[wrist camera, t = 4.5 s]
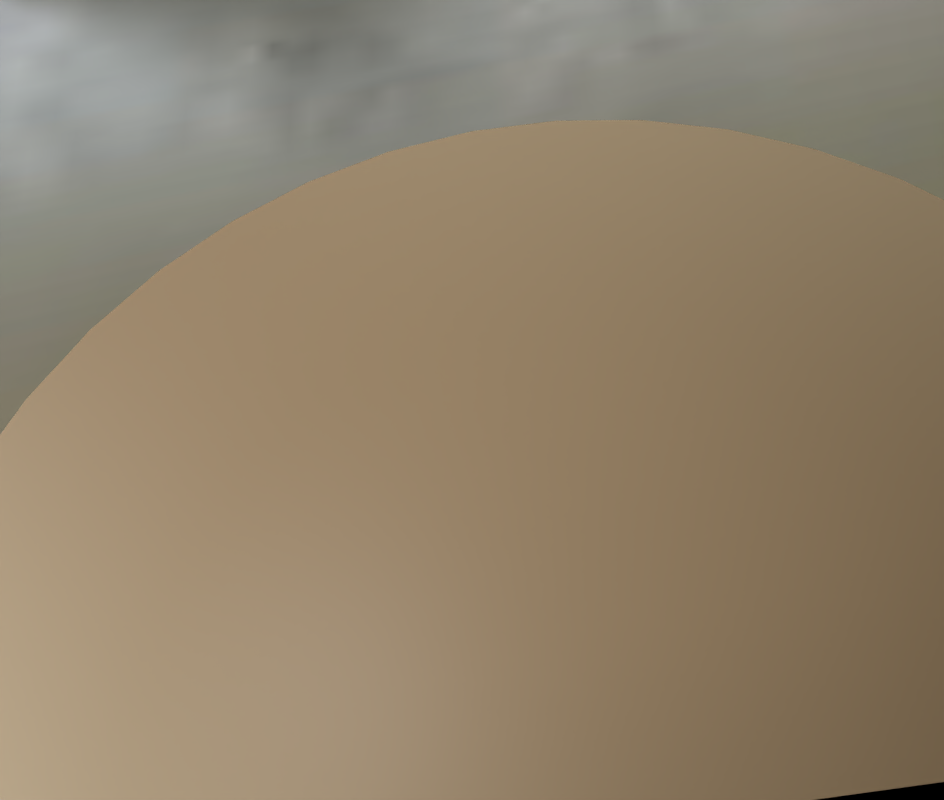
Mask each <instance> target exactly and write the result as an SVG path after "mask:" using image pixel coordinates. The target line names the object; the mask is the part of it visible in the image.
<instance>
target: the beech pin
mask: <svg viewBox="0 0 944 800" xmlns="http://www.w3.org/2000/svg"><path fill="white" fill-rule="evenodd" d="M0 800H944V200H942V199H940V198H938V197H936V196H934V195H932V194H930V193H928V192H926V191H924V190H922V189H920V188H917V187H915V186H913V185H911V184H909V183H907V182H905V181H903V180H901V179H898V178H895V177H893V176H890V175H887V174H884V173H881V172H878V171H875V170H873V169H870V168H867V167H864V166H861V165H858V164H855V163H853V162H850V161H847V160H844V159H841V158H838V157H835V156H833V155H830V154H827V153H824V152H821V151H818V150H815V149H811V148H807V147H803V146H798V145H794V144H789V143H785V142H781V141H776V140H772V139H767V138H763V137H759V136H754V135H750V134H745V133H741V132H737V131H732V130H727V129H718V128H709V127H700V126H691V125H682V124H672V123H663V122H654V121H645V120H596V121H550V122H542V123H534V124H526V125H518V126H510V127H502V128H494V129H486V130H478V131H471V132H467V133H463V134H459V135H455V136H451V137H447V138H443V139H438V140H434V141H430V142H426V143H422V144H418V145H414V146H410V147H406V148H402V149H398V150H394V151H390V152H387V153H384V154H382V155H379V156H376V157H374V158H371V159H368V160H366V161H363V162H360V163H358V164H355V165H352V166H350V167H347V168H344V169H342V170H339V171H336V172H334V173H331V174H328V175H326V176H323V177H320V178H318V179H315V180H312V181H310V182H308V183H306V184H304V185H302V186H300V187H298V188H296V189H294V190H292V191H290V192H288V193H286V194H284V195H282V196H280V197H278V198H277V199H275V200H273V201H271V202H269V203H267V204H265V205H263V206H261V207H259V208H257V209H255V210H253V211H251V212H249V213H248V214H246V215H244V216H242V217H240V218H238V219H236V220H234V221H232V222H231V223H229V224H228V225H226V226H225V227H223V228H222V229H220V230H219V231H217V232H216V233H214V234H213V235H211V236H210V237H208V238H207V239H205V240H204V241H202V242H201V243H199V244H198V245H196V246H195V247H194V248H192V249H191V250H189V251H188V252H186V253H185V254H183V255H182V256H180V257H179V258H177V259H176V260H174V261H173V262H171V263H170V264H168V265H167V266H165V267H164V268H162V269H161V270H159V271H158V272H157V273H156V274H155V275H153V276H152V277H151V278H150V279H149V280H148V281H147V282H145V283H144V284H143V285H142V286H141V287H140V288H138V289H137V290H136V291H135V292H134V293H133V294H131V295H130V296H129V297H128V298H127V299H126V300H124V301H123V302H122V303H121V304H120V305H119V306H117V307H116V308H115V309H114V310H113V311H112V312H110V313H109V314H108V315H107V316H106V317H105V318H104V319H102V320H101V321H100V322H99V323H98V324H97V325H95V326H94V327H93V328H92V329H91V330H90V331H89V332H88V333H87V334H86V335H85V336H84V337H83V338H82V339H81V340H80V341H79V343H78V344H77V345H76V346H75V347H74V348H73V349H72V350H71V351H70V352H69V353H68V354H67V356H66V357H65V358H64V359H63V360H62V361H61V362H60V363H59V364H58V365H57V366H56V368H55V369H54V370H53V371H52V372H51V373H50V374H49V375H48V376H47V377H46V378H45V379H44V381H43V382H42V383H41V384H40V385H39V386H38V387H37V388H36V389H35V390H34V391H33V392H32V394H31V395H30V396H29V397H28V398H27V399H26V400H25V402H24V403H23V404H22V406H21V407H20V409H19V410H18V411H17V413H16V414H15V415H14V417H13V418H12V420H11V421H10V422H9V424H8V425H7V426H6V428H5V429H4V430H3V432H2V433H1V435H0Z"/></svg>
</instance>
